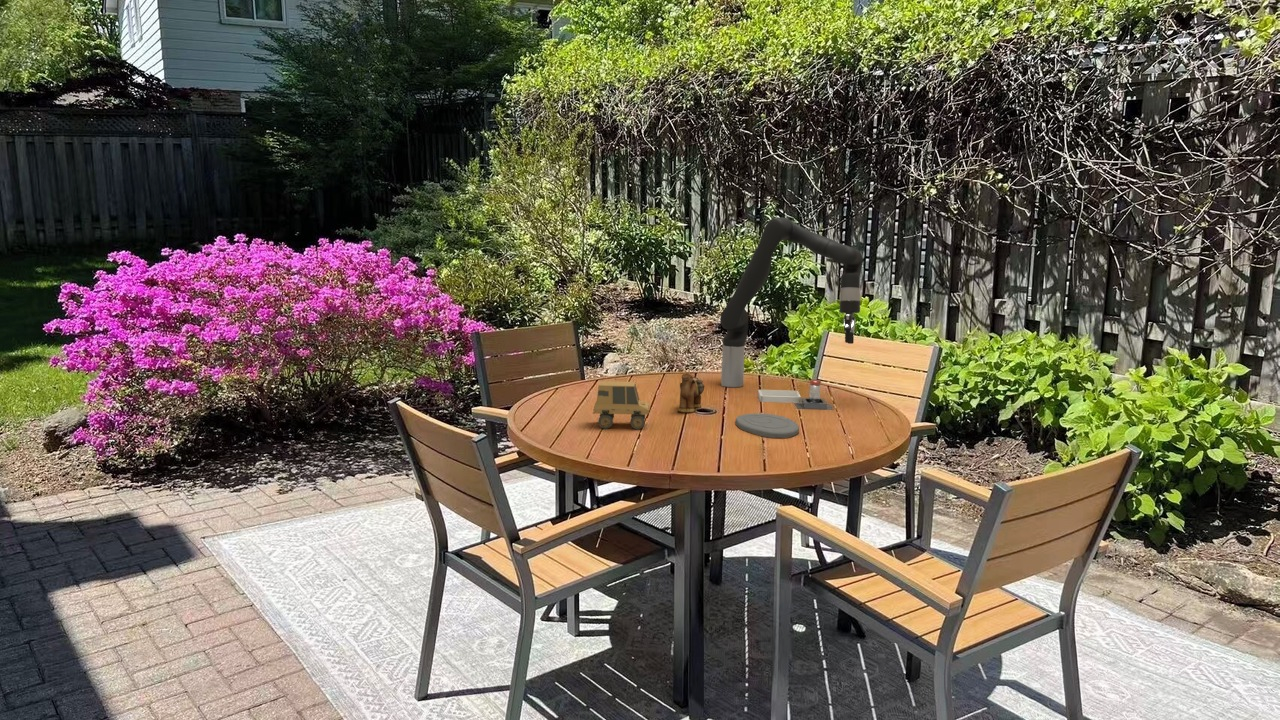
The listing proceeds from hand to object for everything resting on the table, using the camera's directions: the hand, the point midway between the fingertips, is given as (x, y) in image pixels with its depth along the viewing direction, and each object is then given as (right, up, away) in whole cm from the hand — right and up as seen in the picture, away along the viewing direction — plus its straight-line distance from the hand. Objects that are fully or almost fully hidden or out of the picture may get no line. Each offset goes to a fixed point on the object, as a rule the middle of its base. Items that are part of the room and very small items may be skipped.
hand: (849, 343), depth 332 cm
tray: (-24, -22, +14) cm, 36 cm away
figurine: (-60, -25, -3) cm, 65 cm away
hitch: (-13, -25, +2) cm, 28 cm away
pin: (-13, -24, +2) cm, 27 cm away
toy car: (-86, -29, -27) cm, 94 cm away
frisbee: (-34, -31, -26) cm, 53 cm away
